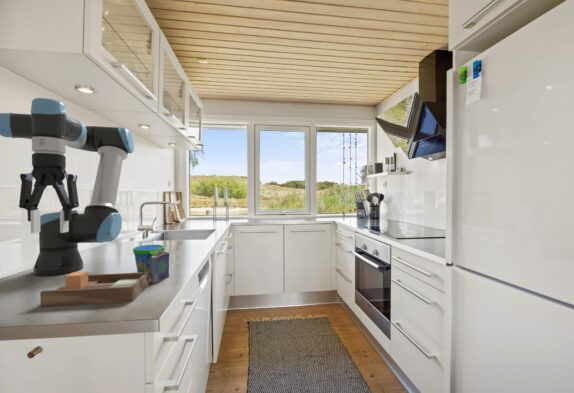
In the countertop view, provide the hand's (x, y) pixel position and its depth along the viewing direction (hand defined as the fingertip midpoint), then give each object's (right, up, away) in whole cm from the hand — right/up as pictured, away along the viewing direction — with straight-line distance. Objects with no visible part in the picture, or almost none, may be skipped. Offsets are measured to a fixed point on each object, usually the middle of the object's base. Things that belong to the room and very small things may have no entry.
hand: (50, 232), depth 82 cm
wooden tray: (+13, -19, +3) cm, 23 cm away
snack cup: (+18, -19, +23) cm, 35 cm away
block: (+7, -17, +1) cm, 18 cm away
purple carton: (+25, -19, +17) cm, 35 cm away
